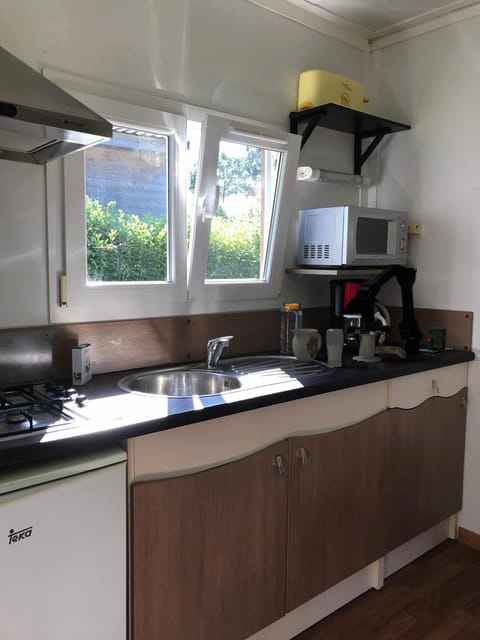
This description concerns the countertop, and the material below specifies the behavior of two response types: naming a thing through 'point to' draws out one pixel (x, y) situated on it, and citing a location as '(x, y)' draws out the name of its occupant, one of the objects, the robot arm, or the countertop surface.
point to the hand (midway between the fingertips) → (367, 348)
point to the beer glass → (334, 347)
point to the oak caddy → (391, 351)
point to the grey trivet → (367, 359)
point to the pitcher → (306, 344)
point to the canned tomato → (437, 339)
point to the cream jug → (367, 345)
